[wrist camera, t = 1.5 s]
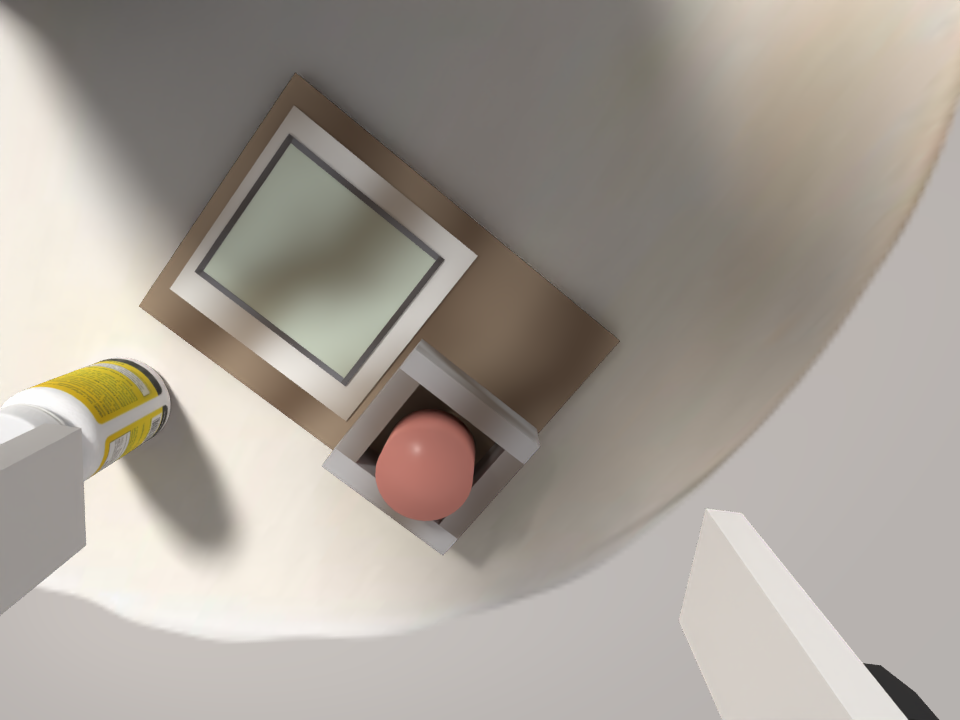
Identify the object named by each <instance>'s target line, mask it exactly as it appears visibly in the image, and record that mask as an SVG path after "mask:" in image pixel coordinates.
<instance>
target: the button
mask: <svg viewBox="0 0 960 720" xmlns="http://www.w3.org/2000/svg"><path fill="white" fill-rule="evenodd" d="M475 453H476V452H475V443H474V439H473V436H472V434H471V432H470V431H469V429H468V428H467V426H466V425H465V424H464V423H463V422H462V421H461V420H460V419H459V418H457V417H456V416H454V415H452V414H450V413H448V412H445V411H442V410H437V409H423V410H418V411H415V412H412V413H410V414H408V415H407V416H405V417H404V418H402V419H401V420H400V421H399V422H398V423H397V424H396V425H395V427H394V428H393V430H392V432H391V434H390V436H389V438H388V440H387V442H386V444H385V446H384V448H383V450H382V452H381V454H380V456H379V458H378V461H377V464H376V471H375V476H376V483H377V487H378V490H379V492H380V494H381V496H382V498H383V499H384V500H385V502H386V503H387V504H388V505H389V506H390V507H391V508H392V509H393V510H394V511H396V512H397V513H399V514H401V515H403V516H405V517H407V518H410V519H414V520H420V521H432V520H438V519H441V518H444V517H447V516H449V515H450V514H452V513H454V512H455V511H456V510H458V509H459V508H460V507H461V506H462V505H463V504H464V502H465V501H466V499H467V498H468V496H469V494H470V491H471V488H472V483H473V473H474V463H475Z"/></svg>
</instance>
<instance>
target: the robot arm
mask: <svg viewBox="0 0 960 720" xmlns="http://www.w3.org/2000/svg"><path fill="white" fill-rule="evenodd" d="M85 546H86V531H85V505H84V479H83V454H82V428H78V427H70V426H63V425H55V424H47V423H44V424H42V425H40V426H38V427H36V428H34V429H32V430H30V431H27V432H25V433H23V434H21V435H19V436H17V437H15V438H13V439H11V440H9V441H6V442H4V443H2V444H0V615H1V614H3V613H4V612H5V611H6V610H8V609H9V608H10V607H11V606H12V605H14V604H15V603H16V602H17V601H19V600H20V599H21V598H22V597H24V596H25V595H26V594H27V593H28V592H30V591H31V590H32V589H33V588H35V587H36V586H37V585H38V584H39V583H41V582H42V581H43V580H44V579H46V578H47V577H48V576H49V575H50V574H52V573H53V572H54V571H55V570H57V569H58V568H59V567H60V566H61V565H63V564H64V563H65V562H66V561H67V560H69V559H70V558H71V557H72V556H74V555H75V554H76V553H77V552H78V551H80V550H81V549H82V548H83V547H85ZM679 623H680V626H681V628H682V630H683V632H684V635H685V637H686V639H687V641H688V644H689V646H690V648H691V651H692V653H693V655H694V657H695V660H696V662H697V664H698V666H699V669H700V671H701V673H702V676H703V678H704V680H705V683H706V685H707V687H708V689H709V692H710V694H711V696H712V698H713V701H714V703H715V705H716V707H717V710H718V712H719V714H720V717H721V719H722V720H939V719H938V718H937V717H936V716H935V714H934V713H933V712H932V711H931V710H930V709H929V708H928V706H927V705H926V704H925V703H924V702H923V701H922V699H921V698H920V697H919V696H918V695H917V694H916V693H915V692H914V691H913V690H912V689H910V688H909V687H908V686H907V685H905V684H904V683H903V682H901V681H900V680H899V679H897V678H896V677H895V676H893V675H892V674H891V673H890V672H888V671H887V670H886V669H885V668H883V667H882V666H881V665H873V664H865V663H862V662H861V661H860V659H859V658H858V657H857V655H856V654H855V653H854V652H853V651H852V649H851V648H850V647H849V646H848V644H847V643H846V642H845V641H844V639H843V638H842V637H841V636H840V634H839V633H838V632H837V631H836V630H835V628H834V627H833V626H832V624H831V623H830V622H829V621H828V619H827V618H826V617H825V616H824V614H823V613H822V612H821V611H820V610H819V608H818V607H817V606H816V604H815V603H814V602H813V601H812V600H811V599H810V597H809V596H808V595H807V593H806V592H805V591H804V590H803V588H802V587H801V586H800V585H799V583H798V582H797V581H796V580H795V578H794V577H793V576H792V575H791V573H790V572H789V571H788V570H787V568H786V567H785V566H784V565H783V563H782V562H781V561H780V560H779V559H778V557H777V556H776V555H775V554H774V552H773V551H772V550H771V549H770V547H769V546H768V545H767V544H766V542H765V541H764V540H763V539H762V537H761V536H760V535H759V534H758V532H757V531H756V530H755V529H754V527H753V526H752V525H751V524H750V523H749V521H748V520H747V519H746V517H745V516H744V515H743V514H742V513H739V512H731V511H724V510H716V509H707V508H706V509H705V513H704V517H703V521H702V525H701V530H700V534H699V538H698V542H697V546H696V550H695V554H694V558H693V563H692V567H691V571H690V575H689V579H688V583H687V588H686V592H685V596H684V600H683V604H682V608H681V612H680V617H679Z"/></svg>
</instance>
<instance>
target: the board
mask: <svg viewBox="0 0 960 720" xmlns="http://www.w3.org/2000/svg"><path fill="white" fill-rule="evenodd" d="M139 307H141V308H142V309H143V310H145V311H146V312H147V313H149V314H150V315H151V316H153V317H154V318H155V319H157V320H158V321H159V322H161V323H162V324H163V325H165V326H166V327H168V328H169V329H170V330H172V331H173V332H174V333H176V334H177V335H178V336H180V337H181V338H182V339H184V340H185V341H186V342H188V343H189V344H190V345H192V346H193V347H194V348H196V349H197V350H199V351H200V352H201V353H203V354H204V355H205V356H207V357H208V358H209V359H211V360H212V361H213V362H215V363H216V364H217V365H219V366H220V367H221V368H223V369H224V370H225V371H227V372H228V373H230V374H231V375H232V376H234V377H235V378H236V379H238V380H239V381H240V382H242V383H243V384H244V385H246V386H247V387H248V388H250V389H251V390H252V391H254V392H255V393H257V394H258V395H259V396H261V397H262V398H263V399H265V400H266V401H267V402H269V403H270V404H271V405H273V406H274V407H275V408H277V409H278V410H279V411H281V412H282V413H283V414H285V415H286V416H288V417H289V418H290V419H292V420H293V421H294V422H296V423H297V424H298V425H300V426H301V427H302V428H304V429H305V430H306V431H308V432H309V433H310V434H312V435H313V436H314V437H316V438H317V439H319V440H320V441H321V442H323V443H324V444H325V445H327V446H328V447H329V448H331V449H332V450H333V451H332V452H331V454H330V455H329V456H328V458H327V459H326V461H325V462H324V463H323V465H322V467H323V468H325V469H326V470H327V471H329V472H330V473H331V474H333V475H334V476H336V477H337V478H338V479H340V480H341V481H342V482H344V483H345V484H346V485H348V486H349V487H350V488H352V489H353V490H355V491H356V492H357V493H359V494H360V495H361V496H363V497H364V498H365V499H367V500H368V501H370V502H371V503H372V504H374V505H375V506H376V507H378V508H379V509H380V510H382V511H383V512H384V513H386V514H387V515H389V516H390V517H391V518H393V519H394V520H395V521H397V522H398V523H399V524H401V525H402V526H403V527H405V528H406V529H408V530H409V531H410V532H412V533H413V534H414V535H416V536H417V537H418V538H420V539H421V540H423V541H424V542H425V543H427V544H428V545H429V546H431V547H432V548H433V549H435V550H436V551H437V552H439V553H440V554H442V555H444V554H445V553H446V552H447V551H448V549H449V548H450V547H451V546H452V545H453V544H454V543H455V542H456V541H457V539H458V538H459V537H460V536H461V535H462V534H463V533H464V532H465V530H466V529H467V528H468V527H469V526H470V525H471V524H472V523H473V521H474V520H475V519H476V518H477V517H478V516H479V515H480V514H481V513H482V511H483V510H484V509H485V508H486V507H487V506H488V505H489V504H490V502H491V501H492V500H493V499H494V498H495V497H496V496H497V495H498V493H499V492H500V491H501V490H502V489H503V488H504V487H505V486H506V485H507V483H508V482H509V481H510V480H511V479H512V478H513V477H514V476H515V474H516V473H517V472H518V471H519V470H520V469H521V468H522V467H523V465H524V464H525V463H526V462H527V461H528V460H529V459H530V458H531V457H532V455H533V454H534V453H535V452H536V451H537V450H538V449H539V448H540V443H539V437H538V433H539V432H540V431H541V430H542V429H543V427H544V426H545V425H546V424H547V423H548V422H549V421H550V420H551V418H552V417H553V416H554V415H555V414H556V413H557V412H558V410H559V409H560V408H561V407H562V406H563V405H564V404H565V403H566V401H567V400H568V399H569V398H570V397H571V396H572V395H573V394H574V392H575V391H576V390H577V389H578V388H579V387H580V386H581V385H582V383H583V382H584V381H585V380H586V379H587V378H588V377H589V376H590V374H591V373H592V372H593V371H594V370H595V369H596V368H597V367H598V365H599V364H600V363H601V362H602V361H603V360H604V359H605V357H606V356H607V355H608V354H609V353H610V352H611V351H612V350H613V348H614V347H615V346H616V345H617V344H618V343H619V342H620V341H619V340H618V339H617V338H616V337H615V336H614V335H612V334H611V333H610V332H609V331H608V330H606V329H605V328H604V327H603V326H601V325H600V324H599V323H598V322H597V321H595V320H594V319H593V318H592V317H591V316H589V315H588V314H587V313H586V312H585V311H583V310H582V309H581V308H580V307H579V306H577V305H576V304H575V303H574V302H572V301H571V300H570V299H569V298H568V297H566V296H565V295H564V294H563V293H562V292H560V291H559V290H558V289H557V288H556V287H554V286H553V285H552V284H551V283H550V282H548V281H547V280H546V279H545V278H544V277H542V276H541V275H540V274H539V273H537V272H536V271H535V270H534V269H533V268H531V267H530V266H529V265H528V264H527V263H525V262H524V261H523V260H522V259H521V258H519V257H518V256H517V255H516V254H515V253H513V252H512V251H511V250H510V249H508V248H507V247H506V246H505V245H504V244H502V243H501V242H500V241H499V240H498V239H496V238H495V237H494V236H493V235H492V234H490V233H489V232H488V231H487V230H486V229H484V228H483V227H482V226H481V225H479V224H478V223H477V222H476V221H475V220H473V219H472V218H471V217H470V216H469V215H467V214H466V213H465V212H464V211H463V210H461V209H460V208H459V207H458V206H457V205H455V204H454V203H453V202H452V201H450V200H449V199H448V198H447V197H446V196H444V195H443V194H442V193H441V192H440V191H438V190H437V189H436V188H435V187H434V186H432V185H431V184H430V183H429V182H428V181H426V180H425V179H424V178H423V177H421V176H420V175H419V174H418V173H417V172H415V171H414V170H413V169H412V168H411V167H409V166H408V165H407V164H406V163H405V162H403V161H402V160H401V159H400V158H399V157H397V156H396V155H395V154H394V153H392V152H391V151H390V150H389V149H388V148H386V147H385V146H384V145H383V144H382V143H380V142H379V141H378V140H377V139H376V138H374V137H373V136H372V135H371V134H370V133H368V132H367V131H366V130H365V129H363V128H362V127H361V126H360V125H359V124H357V123H356V122H355V121H354V120H353V119H351V118H350V117H349V116H348V115H347V114H345V113H344V112H343V111H342V110H341V109H339V108H338V107H337V106H336V105H334V104H333V103H332V102H331V101H330V100H328V99H327V98H326V97H325V96H324V95H322V94H321V93H320V92H319V91H318V90H316V89H315V88H314V87H313V86H312V85H310V84H309V83H308V82H307V81H305V80H304V79H303V78H302V77H301V76H299V75H298V74H297V73H295V74H294V75H293V77H292V78H291V80H290V81H289V83H288V84H287V86H286V87H285V89H284V90H283V92H282V93H281V95H280V96H279V98H278V99H277V101H276V102H275V104H274V105H273V107H272V108H271V110H270V111H269V113H268V114H267V116H266V117H265V119H264V120H263V122H262V123H261V125H260V126H259V128H258V129H257V131H256V132H255V133H254V135H253V136H252V138H251V139H250V141H249V142H248V144H247V145H246V147H245V148H244V150H243V151H242V153H241V154H240V156H239V157H238V159H237V160H236V162H235V163H234V165H233V166H232V168H231V169H230V171H229V172H228V174H227V175H226V177H225V178H224V180H223V181H222V183H221V184H220V186H219V187H218V189H217V190H216V192H215V193H214V195H213V196H212V198H211V199H210V201H209V202H208V204H207V205H206V207H205V208H204V210H203V211H202V213H201V214H200V216H199V217H198V219H197V220H196V222H195V223H194V224H193V226H192V227H191V229H190V230H189V232H188V233H187V235H186V236H185V238H184V239H183V241H182V242H181V244H180V245H179V247H178V248H177V250H176V251H175V253H174V254H173V256H172V257H171V259H170V260H169V262H168V263H167V265H166V266H165V268H164V269H163V271H162V272H161V274H160V275H159V277H158V278H157V280H156V281H155V283H154V284H153V286H152V287H151V289H150V290H149V292H148V293H147V295H146V296H145V298H144V299H143V301H142V302H141V304H140V305H139ZM423 409H437V410H442V411H445V412H448V413H450V414H452V415H454V416H456V417H457V418H459V419H460V420H461V421H462V422H463V423H464V424H465V425H466V426H467V428H468V429H469V431H470V432H471V434H472V436H473V439H474V443H475V452H476V453H475V463H474V473H473V483H472V488H471V491H470V494H469V496H468V498H467V499H466V501H465V502H464V504H463V505H462V506H461V507H460V508H459V509H458V510H456V511H455V512H454V513H452V514H450V515H449V516H447V517H444V518H441V519H438V520H432V521H420V520H414V519H410V518H407V517H405V516H403V515H401V514H399V513H397V512H396V511H394V510H393V509H392V508H391V507H390V506H389V505H388V504H387V503H386V502H385V500H384V499H383V498H382V496H381V494H380V492H379V490H378V487H377V483H376V476H375V471H376V464H377V461H378V458H379V456H380V454H381V452H382V450H383V448H384V446H385V444H386V442H387V440H388V438H389V436H390V434H391V432H392V430H393V428H394V427H395V425H396V424H397V423H398V422H399V421H400V420H401V419H402V418H404V417H405V416H407V415H408V414H410V413H412V412H415V411H418V410H423Z"/></svg>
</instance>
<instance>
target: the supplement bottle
mask: <svg viewBox="0 0 960 720" xmlns="http://www.w3.org/2000/svg"><path fill="white" fill-rule="evenodd" d="M170 408H171V403H170V396H169V393H168V390H167V388H166V386H165V384H164V382H163V380H162V379H161V377H160V376H159V375H158V373H157V372H156V371H154V370H153V369H152V368H151V367H149V366H148V365H146V364H145V363H143V362H141V361H138V360H135V359H131V358H124V357H117V358H111V359H106V360H103V361H100V362H97V363H95V364H92V365H89V366H87V367H84V368H81V369H78V370H76V371H73V372H71V373H68V374H65V375H62V376H60V377H57V378H54V379H52V380H49V381H46V382H44V383H41V384H38V385H36V386H33V387H30V388H28V389H25V390H23V391H21V392H18V393H17V394H15V395H14V396H12V397H11V398H10V399H8V400H7V401H6V402H5V403H4V405H3V406H2V407H1V408H0V444H2V443H4V442H6V441H9V440H11V439H13V438H15V437H17V436H19V435H21V434H23V433H25V432H27V431H30V430H32V429H34V428H36V427H38V426H40V425H42V424H44V423H47V424H55V425H63V426H70V427H78V428H82V454H83V479H84V481H85V480H87V479H89V478H90V477H92V476H93V475H95V474H96V473H98V472H99V471H101V470H102V469H104V468H106V467H107V466H109V465H110V464H112V463H113V462H115V461H116V460H118V459H120V458H121V457H123V456H124V455H126V454H127V453H129V452H130V451H132V450H133V449H135V448H136V447H138V446H140V445H141V444H143V443H144V442H146V441H147V440H149V439H150V438H152V437H153V436H155V435H156V434H157V433H158V432H159V431H160V430H161V429H162V428H163V427H164V426H165V424H166V422H167V420H168V418H169V414H170Z"/></svg>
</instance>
